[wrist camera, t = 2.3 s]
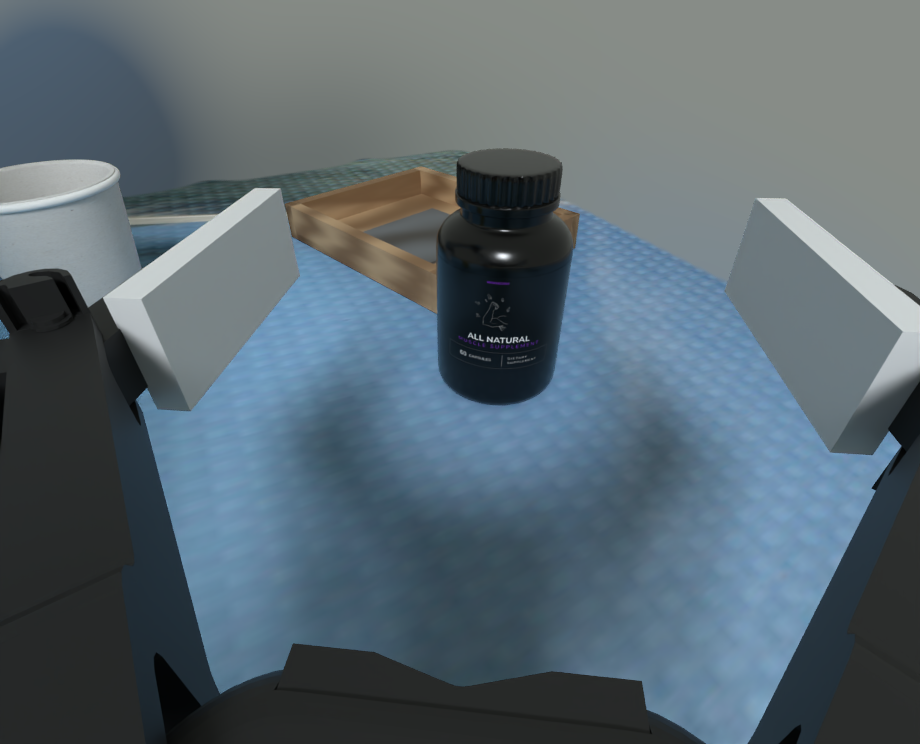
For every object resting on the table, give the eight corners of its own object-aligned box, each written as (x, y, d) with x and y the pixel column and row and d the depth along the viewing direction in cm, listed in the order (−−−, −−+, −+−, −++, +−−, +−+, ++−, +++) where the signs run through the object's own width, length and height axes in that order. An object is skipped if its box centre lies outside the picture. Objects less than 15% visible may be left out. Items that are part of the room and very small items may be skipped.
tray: (291, 236, 46) (284, 203, 45) (422, 195, 55) (421, 166, 54) (440, 315, 35) (439, 276, 33) (574, 247, 44) (579, 213, 42)
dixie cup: (4, 376, 30) (-114, 209, 24) (74, 306, 37) (-3, 161, 30) (151, 367, 31) (73, 202, 25) (194, 299, 37) (141, 156, 31)
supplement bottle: (478, 426, 26) (482, 194, 19) (419, 360, 31) (405, 153, 24) (579, 384, 29) (617, 167, 22) (511, 329, 34) (524, 135, 26)
